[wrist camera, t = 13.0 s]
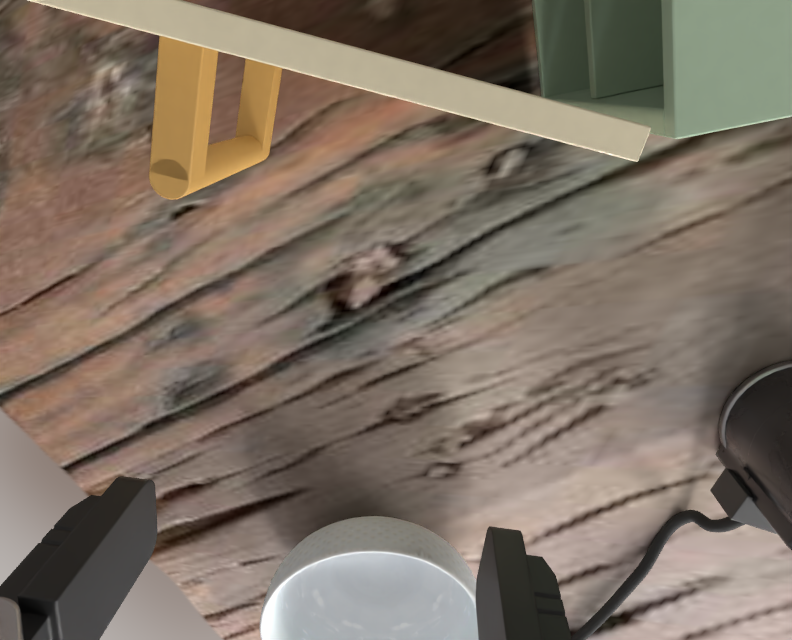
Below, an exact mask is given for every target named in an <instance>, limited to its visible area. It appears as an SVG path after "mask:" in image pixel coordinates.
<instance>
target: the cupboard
mask: <svg viewBox="0 0 792 640" xmlns="http://www.w3.org/2000/svg"><path fill="white" fill-rule="evenodd" d="M532 8H533V18H534V28H535V38H536V48H537V58H538V68H539V77H540V87H541V97H543V98H547V99H551V100H555V101H558V102H562V103H566V104H569V105H573V106H577V107H581V108H584V109H588V110H592V111H596V112H599V113H603V114H607V115H610V116H614V117H618V118H622V119H625V120H629V121H633V122H637V123H640V124H644V125H648V126H650V127H651V130H650V134H655V135H660V136H664V137H669V138H674V139H680V138H685V137H690V136H696V135H701V134H706V133H711V132H716V131H721V130H726V129H731V128H736V127H741V126H746V125H751V124H757V123H762V122H767V121H772V120H777V119H782V118H787V117H792V0H532Z"/></svg>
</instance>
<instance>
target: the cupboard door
mask: <svg viewBox="0 0 792 640" xmlns="http://www.w3.org/2000/svg"><path fill="white" fill-rule="evenodd" d="M28 1H32V2H35V3H39V4H43V5H47V6H50V7H54V8H58V9H62V10H66V11H69V12H73V13H77V14H81V15H84V16H88V17H92V18H96V19H99V20H103V21H107V22H111V23H115V24H118V25H122V26H126V27H130V28H133V29H137V30H141V31H145V32H148V33H152V34H156V35H160V37H159V50H158V63H157V77H156V90H155V104H154V117H153V130H152V144H151V157H150V170H149V180H150V183H151V185H152V187H153V189H154V190H155V191H156V192H157V193H158V194H159V195H160V196H162V197H164V198H167V199H173V200H174V199H179V198H181V197H184V196H186V195H188V194H190V193H193V192H195V191H197V190H199V189H201V188H204V187H206V186H208V185H210V184H213V183H215V182H217V181H219V180H221V179H224V178H226V177H228V176H230V175H232V174H235V173H237V172H239V171H241V170H244V169H246V168H248V167H250V166H252V165H255V164H257V163H259V162H261V161H263V160H265V159H266V158H267V157H268V155H269V151H270V145H271V138H272V132H273V125H274V119H275V112H276V105H277V99H278V92H279V86H280V79H281V73H282V68H284V69H288V70H292V71H295V72H299V73H303V74H307V75H311V76H314V77H318V78H322V79H326V80H329V81H333V82H337V83H341V84H344V85H348V86H352V87H356V88H360V89H363V90H367V91H371V92H375V93H378V94H382V95H386V96H390V97H393V98H397V99H401V100H405V101H409V102H412V103H416V104H420V105H424V106H427V107H431V108H435V109H439V110H442V111H446V112H450V113H454V114H458V115H461V116H465V117H469V118H473V119H476V120H480V121H484V122H488V123H491V124H495V125H499V126H503V127H507V128H510V129H514V130H518V131H522V132H525V133H529V134H533V135H537V136H540V137H544V138H548V139H552V140H556V141H559V142H563V143H567V144H571V145H574V146H578V147H582V148H586V149H589V150H593V151H597V152H601V153H605V154H608V155H612V156H616V157H620V158H623V159H627V160H631V161H635V162H637V161H638V160H639V158H640V155H641V153H642V150H643V148H644V145H645V143H646V140H647V138H648V135H649V133H650V130H651V127H650V126H648V125H644V124H640V123H637V122H633V121H629V120H625V119H622V118H618V117H614V116H610V115H607V114H603V113H599V112H596V111H592V110H588V109H584V108H581V107H577V106H573V105H569V104H566V103H562V102H558V101H555V100H551V99H547V98H543V97H540V96H536V95H532V94H529V93H525V92H521V91H517V90H514V89H510V88H506V87H502V86H499V85H495V84H491V83H488V82H484V81H480V80H476V79H473V78H469V77H465V76H462V75H458V74H454V73H450V72H447V71H443V70H439V69H435V68H432V67H428V66H424V65H421V64H417V63H413V62H409V61H406V60H402V59H398V58H395V57H391V56H387V55H383V54H380V53H376V52H372V51H368V50H365V49H361V48H357V47H354V46H350V45H346V44H342V43H339V42H335V41H331V40H328V39H324V38H320V37H316V36H313V35H309V34H305V33H301V32H298V31H294V30H290V29H287V28H283V27H279V26H275V25H272V24H268V23H264V22H261V21H257V20H253V19H249V18H246V17H242V16H238V15H234V14H231V13H227V12H223V11H220V10H216V9H212V8H208V7H205V6H201V5H197V4H193V3H190V2H186V1H182V0H28ZM218 51H220V52H224V53H228V54H231V55H235V56H239V57H243V58H246V59H245V67H244V75H243V83H242V90H241V98H240V106H239V113H238V121H237V129H236V137H235V138H233V139H229V140H226V141H222V142H218V143H214V144H211V145H208V138H209V129H210V120H211V112H212V103H213V94H214V85H215V76H216V67H217V58H218Z"/></svg>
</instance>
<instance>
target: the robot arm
mask: <svg viewBox="0 0 792 640" xmlns="http://www.w3.org/2000/svg"><path fill="white" fill-rule="evenodd" d="M719 435H720V440H721V443H722V444H721V446H720V448H719V449H718V451H717V452H716V456H717V457H718V459H719V460H720V461H721V462H722V464H723V465H724V466H725V470H724V471H723V473H722V474H721V476H720V477H719V478H718V480H717V481H716V483H715V484H714V486H713V487H712V489H711V492H712V493H713V495H714V496H715V498H716V499H717V501H718V502H719V503H720V505H721V506H722V508H723V509H724V511H725V512H726V513H727V515H728V517H726V518H723V519H719V520H711V519H709V518H708V517H706V516H705V515H703V514H702V513H700V512H698V511H695V510H686V511H683V512H680V513H678V514H676V515H675V516H673V517H672V518H671V519H670V520H669V521H668V522H667V523H666V524H665V525H664V526H663V527H662V528H661V530H660V531H659V532H658V534H657V535H656V537H655V538H654V540H653V542H652V543H651V545H650V547H649V549H648V551H647V552H646V554H645V556H644V558H643V559H642V561H641V562H640V564H639V565H638V567H637V568H636V569H635V570H634V572H633V573H632V574H631V575H630V576H629V577H628V578H627V580H626V581H625V582H624V583H623V584H622V585H621V586H620V588H619V589H618V590H617V591H616V592H615V593H614V594H613V596H612V597H611V598H610V599H609V600H608V601H607V602H606V603H605V605H604V606H603V607H602V608H601V609H600V610H599V611H598V612H597V613H596V614H595V615H594V616H593V617H592V618H591V619H590V620H589V621H588V622H587V623H586V624H585V625H584V626H583V627H582V628H581V629H579V630H578V631H577V632H576V633H575V634H574V635H573V636H572V637H571V633H570V629H569V626H568V622H567V618H566V617H565V610H564V606H563V602H562V600H561V594H560V591H559V587H558V583H557V579H556V575H555V574H554V573H553V571H552V570H551V568H550V567H549V566H548V564H547V563H546V562H545V560H544V559H543V557H539V556H531V555H526V551H525V546H524V541H523V536H522V533H521V531H519V530H512V529H504V528H497V527H489V528H488V530H487V533H486V538H485V543H484V547H483V552H482V556H481V561H480V566H479V570H478V575H477V582H476V614H477V626H478V638H479V640H586V639H587V638H588V637H589V636H590V635H591V634H593V633H594V632H595V631H596V630H597V629H598V628H599V627H600V626H601V625H602V624H603V623H604V622H605V621H606V620H607V619H608V618H609V617H610V616H611V615H612V614H613V612H614V611H615V610H616V609H617V608H618V607H619V606H620V605H621V604H622V603H623V601H624V600H625V599H626V598H627V597H628V596H629V595H630V594H631V592H632V591H633V590H634V589H635V588H636V587H637V586H638V585H639V583H640V582H641V581H642V580H643V579H644V578H645V576H646V575H647V574H648V572H649V571H650V569H651V568H652V566H653V565H654V563H655V561H656V559H657V558H658V556H659V554H660V552H661V550H662V549H663V547H664V545H665V544H666V542H667V540H668V539H669V538H670V536H671V535H672V534H673V533H674V532H675V531H676V530H677V529H678V528H679V527H681V526H683V525H684V524H687V523H690V522H695V523H696V524H698V525H699V526H700V527H702V528H703V529H705V530H707V531H711V532H726V531H730V530H733V529H736V528H738V527H740V526H743V525H745V524H747V525H750V526H753V527H756V528H760V529H763V530H766V531H769V532H772V533H775V534H778V535H779V536H780V538H781V539H782V540H783V541H784V543H785V544H786V545H787V546H788V547H789V548H790V549H791V550H792V360H791V361H785V362H781V363H778V364H774V365H772V366H769V367H767V368H764V369H762V370H760V371H759V372H757V373H755V374H754V375H752V376H751V377H749V378H748V379H746V380H745V381H744V382H743V383H742V384H741V385H740V386H739V387H738V388H736V390H735V391H734V392H733V393H732V394H731V396H730V397H729V399H728V400H727V402H726V404H725V406H724V408H723V410H722V413H721V416H720V421H719ZM156 539H157V514H156V494H155V484H154V482H153V481H152V480H147V479H139V478H132V477H124V476H120V477H118V478H116V479H115V481H114V482H113V483H112V484H111V485H110V486H109V488H108V489H107V490H106V491H105V492H104V494H103V495H102V496H95V495H91V496H89V497H88V498H86V499H84V500H83V501H81V502H80V503H78V504H76V505H75V506H73V507H71V508H70V509H69V510H68V511H67V512H66V513H65V515H63V517H62V518H61V519H60V520H59V521H58V522H57V523H56V524H55V526H54V529H51V530H50V531H49V532H48V533H47V534H46V536H45V537H44V538H43V539H42V542H41V543H38V545H37V546H36V547H35V548H34V549H33V550H32V551H31V552H30V553H29V554H28V556H27V557H26V558H25V559H24V560H23V561H22V562H21V563H20V565H19V566H18V567H17V568H16V569H15V570H14V571H13V572H12V573H11V575H10V576H9V577H8V578H7V579H6V580H5V581H4V582H3V584H2V585H1V586H0V640H99V639H100V637H101V636H102V634H103V633H104V631H105V629H106V628H107V626H108V625H109V623H110V621H111V620H112V618H113V617H114V615H115V614H116V612H117V610H118V609H119V607H120V605H121V604H122V602H123V601H124V599H125V597H126V596H127V594H128V592H129V591H130V589H131V588H132V586H133V585H134V583H135V581H136V580H137V578H138V576H139V575H140V573H141V572H142V570H143V569H144V567H145V565H146V564H147V562H148V560H149V559H150V557H151V555H152V552H153V550H154V547H155V543H156Z"/></svg>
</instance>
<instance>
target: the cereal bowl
mask: <svg viewBox="0 0 792 640" xmlns="http://www.w3.org/2000/svg"><path fill="white" fill-rule="evenodd" d="M260 636H261V640H479V638H478V626H477V614H476V579H475V577H474V576H473V574H472V571H471V569H470V568H469V566H468V565H467V563H466V561H465V560H464V559H463V558H462V556H461V555H460V554H459V553H458V552H457V551H456V549H455V548H454V547H452V546H451V545H450V544H449V543H448V542H447V541H446V540H445V539H443V538H441V537H440V536H439V535H437V534H436V533H434V532H432V531H431V530H428V529H426V528H424V527H422V526H420V525H417V524H414V523H412V522H410V521H404V520H400V519H398V518H393V517H382V516H367V517H364V516H362V517H356V518H350V519H345V520H343V521H338V522H336V523H332V524H329V525H328V526H325V527H322V528H321V529H319V530H317V531H315V532H313V533H311V534H310V535H309V536H307V537H306V538H305V539H304V540H302V541H301V542H300V543H298V544H297V546H296V547H295V548H293V549H292V550H291V551H290V553H289V554H288V555H287V556H286V557H285V559H284V561H283V562H282V563H281V564H280V566H279V568H278V569H277V571H276V573H275V575H274V577H273V578H272V580H271V584H270V586H269V588H268V591H267V595H266V597H265V600H264V604H263V607H262V612H261V617H260Z"/></svg>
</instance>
